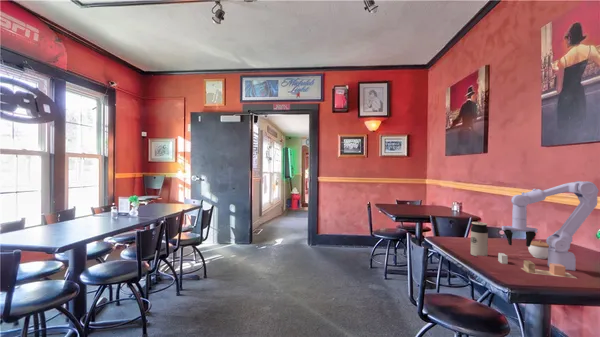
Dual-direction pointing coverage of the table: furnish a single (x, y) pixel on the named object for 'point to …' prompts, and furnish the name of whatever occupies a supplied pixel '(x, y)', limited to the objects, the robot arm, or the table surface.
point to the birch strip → (530, 268)
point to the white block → (502, 258)
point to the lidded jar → (539, 249)
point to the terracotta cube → (557, 269)
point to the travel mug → (479, 239)
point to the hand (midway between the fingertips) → (519, 245)
